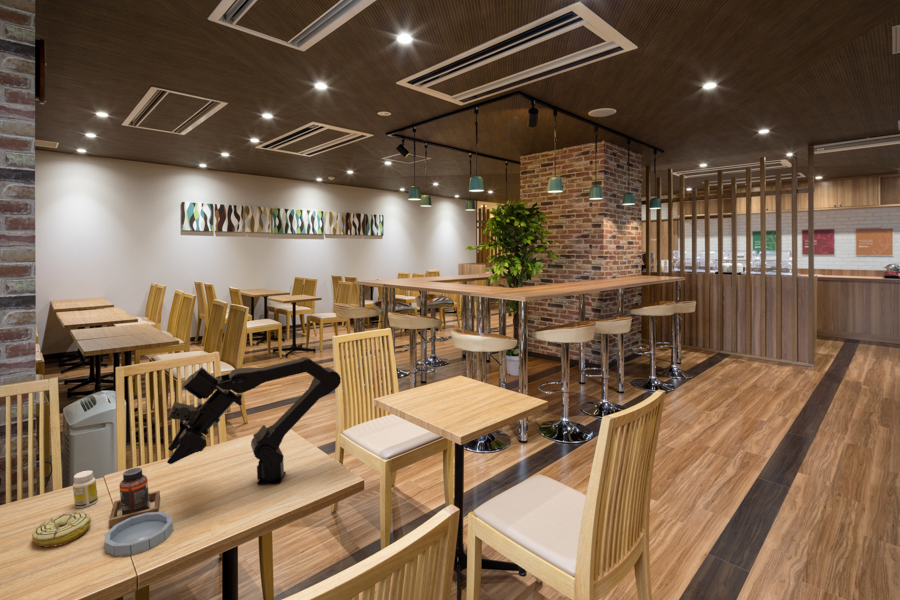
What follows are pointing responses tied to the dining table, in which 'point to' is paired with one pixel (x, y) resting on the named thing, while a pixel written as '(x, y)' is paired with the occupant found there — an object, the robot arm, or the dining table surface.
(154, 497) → the tray
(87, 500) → the supplement bottle
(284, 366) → the robot arm
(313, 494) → the dining table surface
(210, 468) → the dining table surface
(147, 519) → the dish
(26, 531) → the dining table surface
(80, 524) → the decorated donut
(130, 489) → the supplement bottle
